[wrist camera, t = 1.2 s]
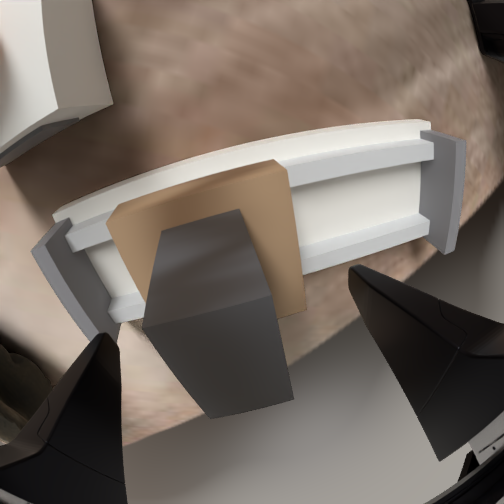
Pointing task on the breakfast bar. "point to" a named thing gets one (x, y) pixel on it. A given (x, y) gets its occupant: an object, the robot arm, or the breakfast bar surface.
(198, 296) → the carriage
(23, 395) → the stone bowl
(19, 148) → the push button box
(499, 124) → the breakfast bar surface
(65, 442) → the robot arm
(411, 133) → the rail track
